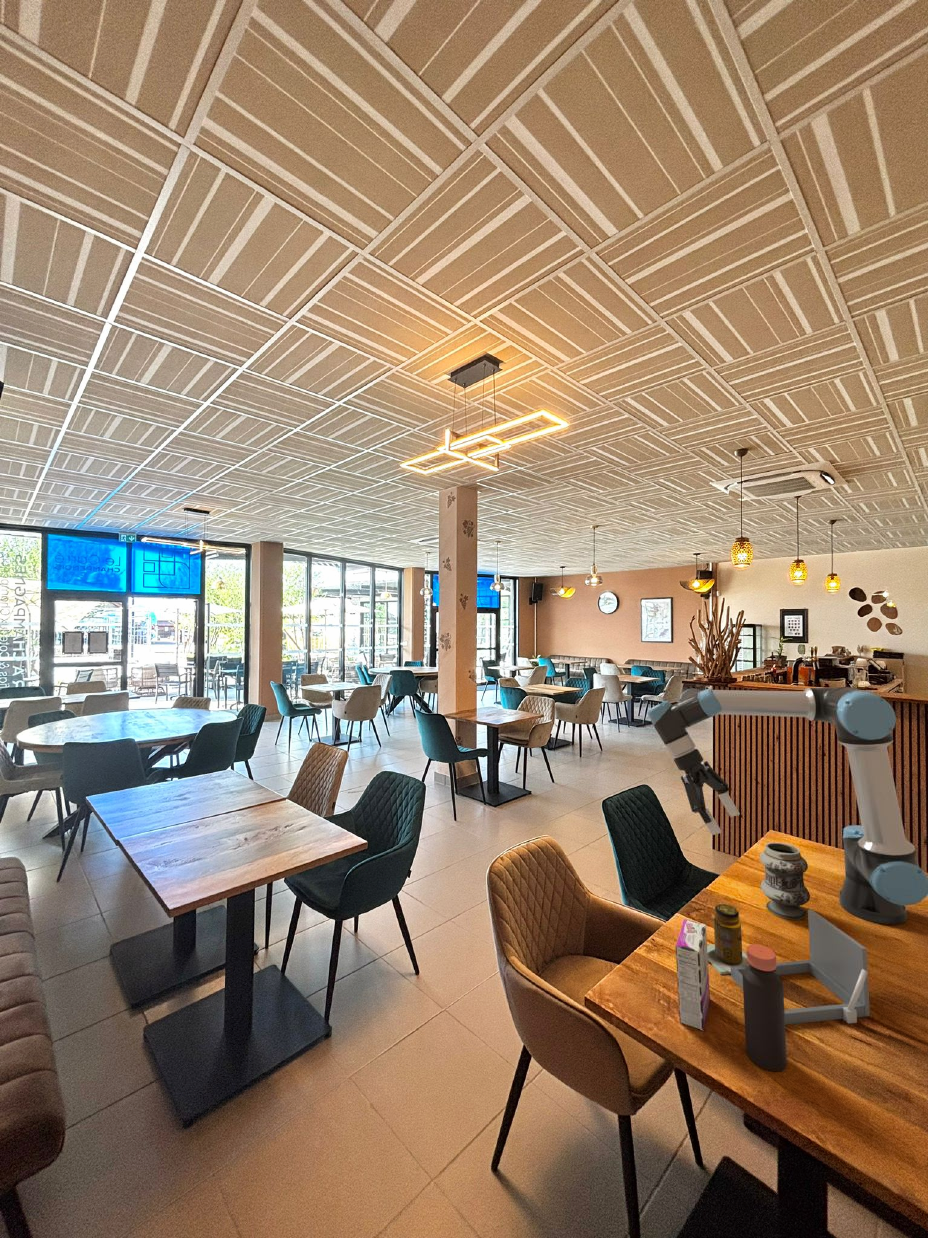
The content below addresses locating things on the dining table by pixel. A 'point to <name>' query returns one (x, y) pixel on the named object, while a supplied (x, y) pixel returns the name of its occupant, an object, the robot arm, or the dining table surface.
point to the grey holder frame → (828, 973)
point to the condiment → (727, 938)
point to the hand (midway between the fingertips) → (726, 824)
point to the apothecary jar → (784, 880)
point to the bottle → (764, 1009)
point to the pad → (719, 969)
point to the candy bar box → (692, 974)
